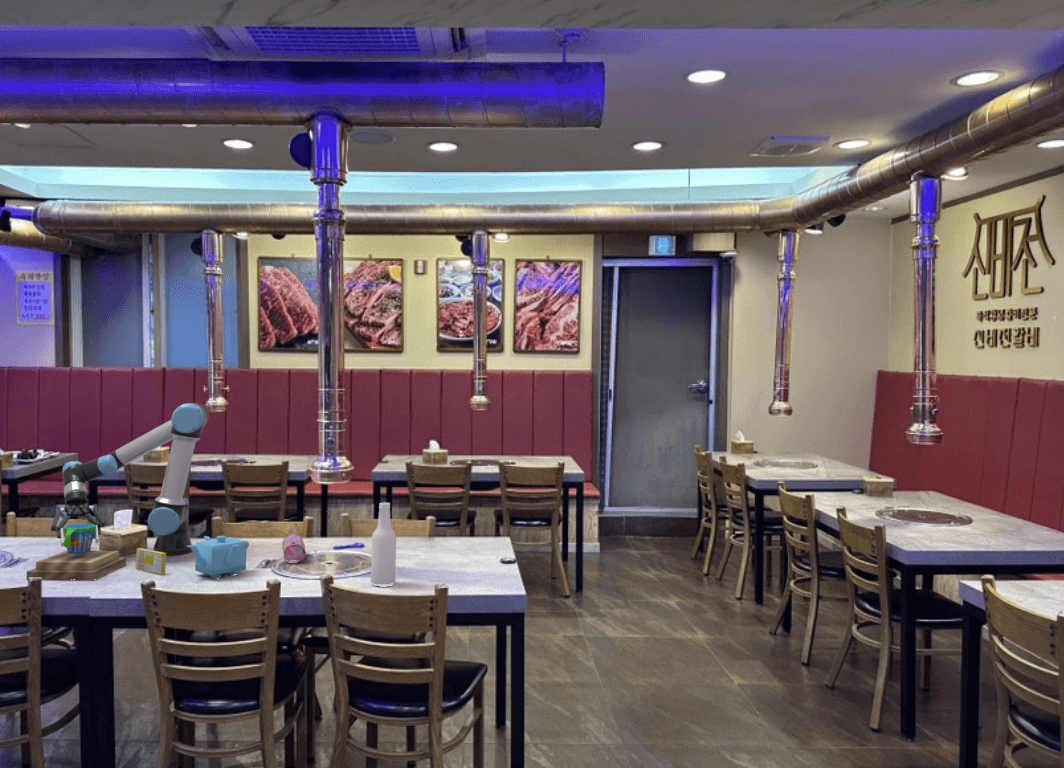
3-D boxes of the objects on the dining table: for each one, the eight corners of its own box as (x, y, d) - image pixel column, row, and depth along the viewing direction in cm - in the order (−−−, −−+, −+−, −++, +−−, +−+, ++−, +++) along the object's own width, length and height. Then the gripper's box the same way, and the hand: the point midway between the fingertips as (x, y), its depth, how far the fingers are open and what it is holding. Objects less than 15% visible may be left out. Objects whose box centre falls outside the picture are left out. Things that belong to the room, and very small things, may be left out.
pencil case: (306, 564, 314) (306, 542, 314) (282, 565, 311) (282, 543, 311) (304, 553, 334) (304, 532, 334) (281, 554, 331) (282, 533, 331)
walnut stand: (126, 565, 306) (126, 549, 306) (93, 580, 282) (94, 564, 282) (64, 564, 305) (64, 549, 305) (26, 579, 281) (26, 563, 281)
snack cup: (80, 547, 301) (81, 521, 301) (105, 548, 300) (106, 522, 300) (51, 556, 286) (51, 528, 286) (77, 558, 285) (77, 530, 285)
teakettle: (251, 569, 304) (252, 531, 304) (238, 581, 285) (239, 541, 285) (201, 569, 302) (202, 531, 302) (185, 581, 283) (186, 541, 283)
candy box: (166, 574, 293) (166, 552, 293) (160, 575, 291) (161, 553, 291) (140, 568, 301) (140, 547, 301) (135, 569, 299) (135, 548, 299)
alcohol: (396, 581, 289) (398, 501, 289) (393, 587, 280) (395, 505, 280) (373, 581, 288) (374, 501, 288) (368, 587, 280) (370, 504, 280)
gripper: (107, 499, 312) (113, 545, 300) (40, 504, 299) (43, 552, 286) (110, 488, 308) (115, 534, 296) (41, 492, 294) (44, 540, 282)
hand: (80, 543), depth 291 cm, fingers closed on snack cup, 11 cm apart
